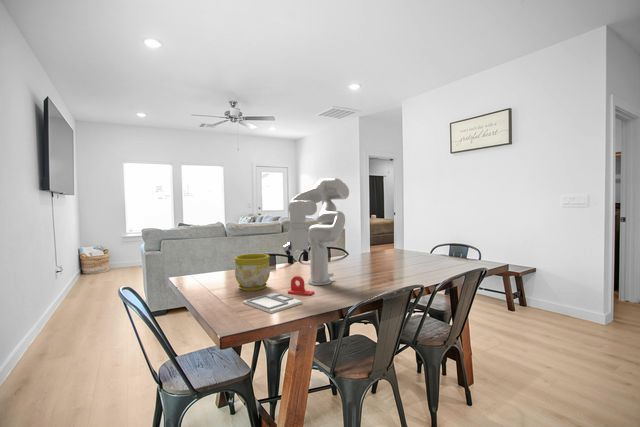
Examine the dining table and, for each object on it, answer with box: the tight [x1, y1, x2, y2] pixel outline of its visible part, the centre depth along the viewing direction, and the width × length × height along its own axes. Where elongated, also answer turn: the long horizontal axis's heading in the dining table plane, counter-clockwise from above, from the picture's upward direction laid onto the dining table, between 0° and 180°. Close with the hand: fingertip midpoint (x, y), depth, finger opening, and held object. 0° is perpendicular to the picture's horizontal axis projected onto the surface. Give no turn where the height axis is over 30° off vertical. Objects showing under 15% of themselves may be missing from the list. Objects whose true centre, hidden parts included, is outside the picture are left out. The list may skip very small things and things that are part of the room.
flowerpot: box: [233, 253, 271, 292], centre depth 173 cm, size 18×18×16 cm
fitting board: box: [242, 292, 303, 314], centre depth 146 cm, size 17×20×2 cm
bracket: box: [287, 275, 315, 297], centre depth 161 cm, size 12×4×8 cm, turn 68°
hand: (298, 262), depth 159 cm, fingers open, 9 cm apart
